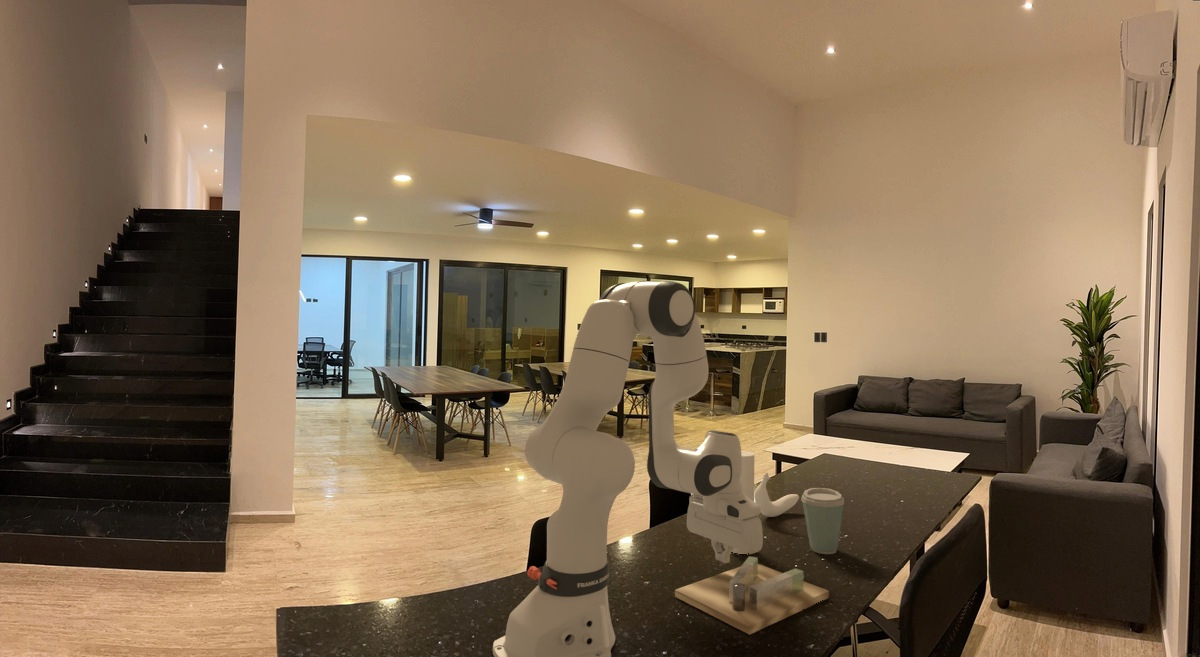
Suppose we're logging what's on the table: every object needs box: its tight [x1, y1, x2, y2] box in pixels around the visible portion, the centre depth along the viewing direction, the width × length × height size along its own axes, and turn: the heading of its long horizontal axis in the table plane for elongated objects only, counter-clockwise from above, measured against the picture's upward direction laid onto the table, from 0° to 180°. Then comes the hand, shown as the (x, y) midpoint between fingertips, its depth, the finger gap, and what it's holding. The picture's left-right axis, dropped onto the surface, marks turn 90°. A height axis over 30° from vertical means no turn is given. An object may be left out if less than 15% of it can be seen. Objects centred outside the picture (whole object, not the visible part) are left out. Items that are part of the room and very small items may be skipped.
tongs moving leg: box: [729, 555, 759, 611], centre depth 129 cm, size 19×4×5 cm, turn 152°
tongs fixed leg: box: [749, 568, 804, 610], centre depth 126 cm, size 16×2×4 cm, turn 127°
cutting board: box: [674, 563, 830, 636], centre depth 130 cm, size 26×20×2 cm
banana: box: [754, 472, 800, 518], centre depth 186 cm, size 5×19×15 cm, turn 130°
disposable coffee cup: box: [800, 487, 845, 555], centre depth 157 cm, size 11×11×15 cm
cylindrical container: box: [732, 450, 755, 555], centre depth 158 cm, size 7×7×25 cm
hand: (722, 560), depth 139 cm, fingers closed
